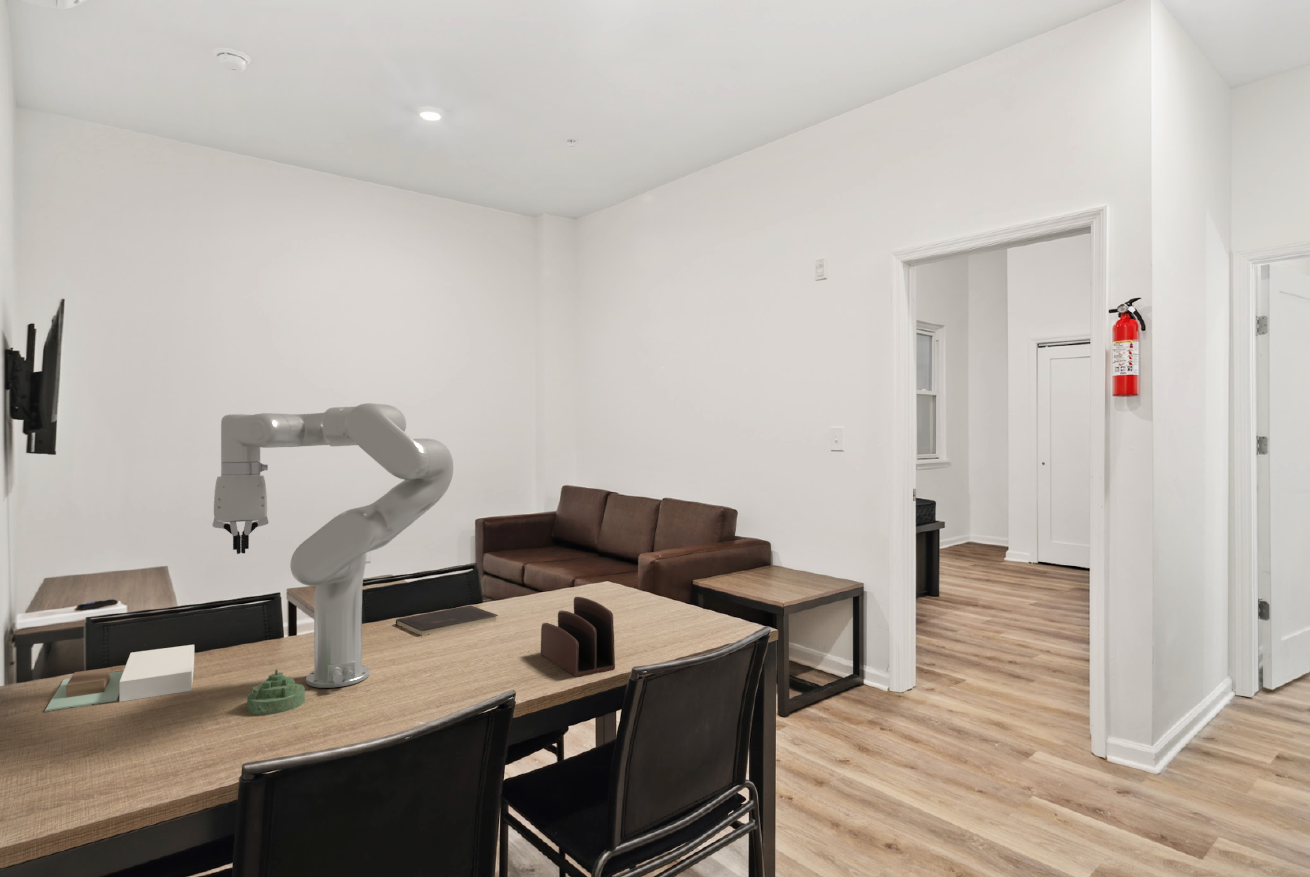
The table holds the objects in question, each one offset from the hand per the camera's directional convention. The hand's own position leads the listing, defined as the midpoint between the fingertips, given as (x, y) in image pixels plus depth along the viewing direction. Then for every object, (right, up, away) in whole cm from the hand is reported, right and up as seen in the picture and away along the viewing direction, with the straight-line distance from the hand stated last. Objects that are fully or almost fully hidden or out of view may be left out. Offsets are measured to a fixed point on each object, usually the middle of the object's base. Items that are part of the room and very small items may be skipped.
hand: (240, 552), depth 157 cm
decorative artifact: (+17, -28, -17) cm, 37 cm away
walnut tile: (-26, -25, -10) cm, 38 cm away
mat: (-26, -27, -10) cm, 39 cm away
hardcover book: (+33, -28, +44) cm, 61 cm away
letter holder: (+73, -28, +10) cm, 79 cm away
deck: (-15, -27, -4) cm, 31 cm away
